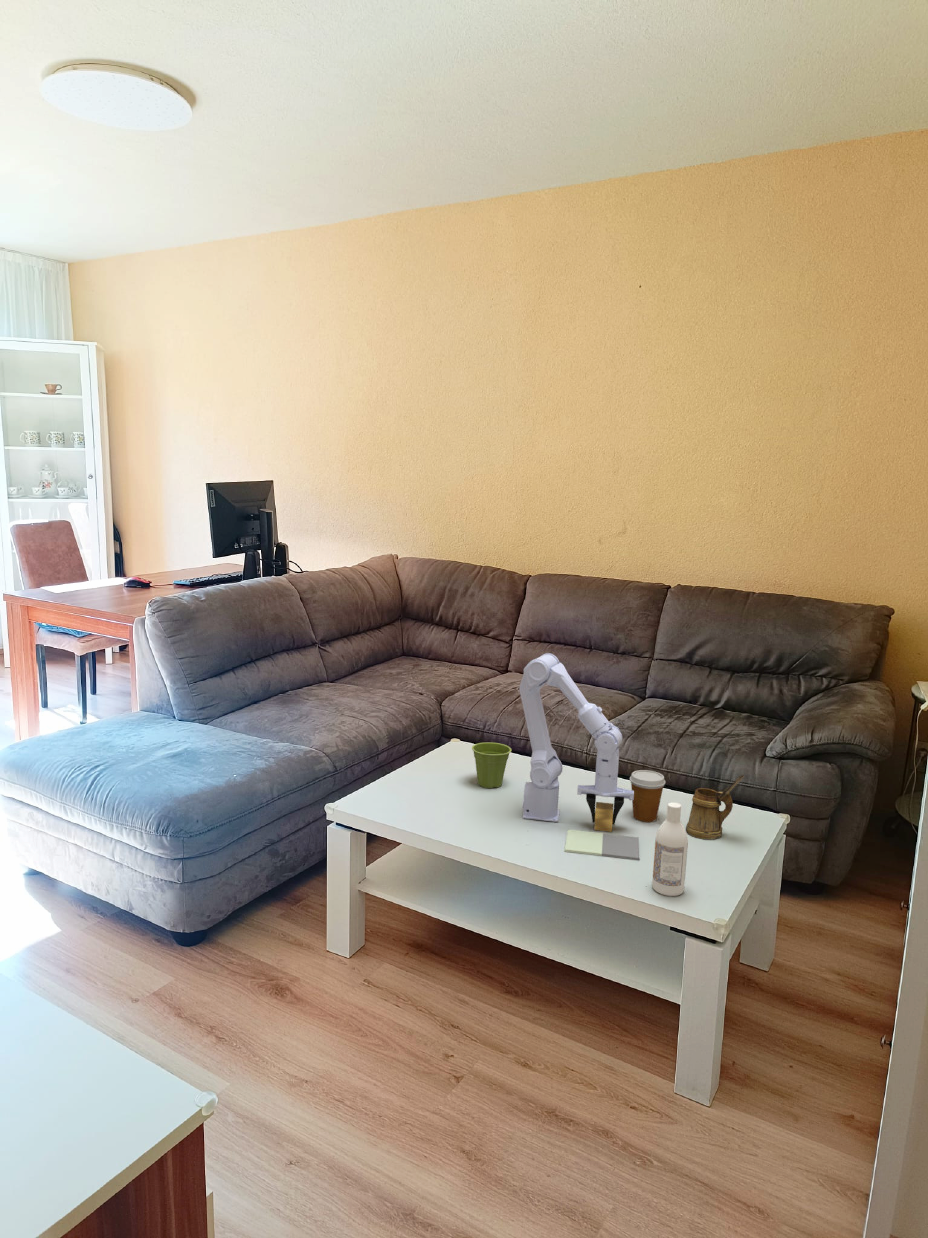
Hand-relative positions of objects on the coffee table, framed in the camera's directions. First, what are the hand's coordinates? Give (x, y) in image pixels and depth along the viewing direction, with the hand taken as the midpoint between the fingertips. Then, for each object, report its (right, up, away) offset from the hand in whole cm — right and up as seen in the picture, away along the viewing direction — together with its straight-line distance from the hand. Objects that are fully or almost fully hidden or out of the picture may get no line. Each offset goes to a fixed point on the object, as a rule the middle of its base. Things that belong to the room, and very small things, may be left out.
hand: (603, 822), depth 211 cm
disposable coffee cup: (+13, -1, +8) cm, 15 cm away
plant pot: (-29, +4, +29) cm, 41 cm away
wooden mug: (+28, -3, -2) cm, 28 cm away
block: (0, -1, 0) cm, 1 cm away
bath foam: (+9, -7, -32) cm, 34 cm away
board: (-2, -3, -10) cm, 11 cm away
